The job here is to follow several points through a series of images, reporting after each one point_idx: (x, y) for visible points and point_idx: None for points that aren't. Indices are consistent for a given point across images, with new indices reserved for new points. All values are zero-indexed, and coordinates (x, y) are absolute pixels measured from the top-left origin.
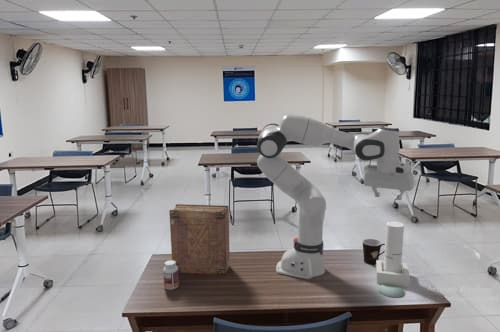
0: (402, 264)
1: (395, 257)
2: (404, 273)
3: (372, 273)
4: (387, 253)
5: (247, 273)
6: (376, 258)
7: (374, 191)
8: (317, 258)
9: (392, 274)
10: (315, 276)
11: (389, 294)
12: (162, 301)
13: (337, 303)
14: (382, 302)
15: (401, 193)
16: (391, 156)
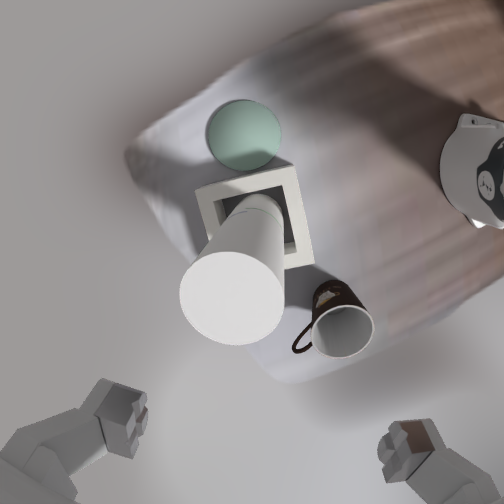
0: None
1: (236, 212)
2: (212, 201)
3: (316, 224)
4: (268, 216)
5: None
6: (318, 296)
7: (457, 463)
8: (479, 149)
9: (246, 177)
10: (452, 134)
11: (243, 106)
12: None
13: (357, 18)
14: (253, 65)
15: (40, 430)
16: None
